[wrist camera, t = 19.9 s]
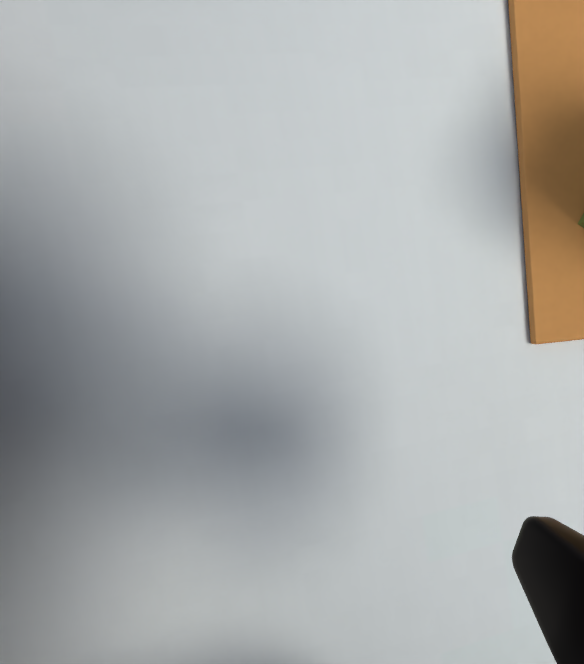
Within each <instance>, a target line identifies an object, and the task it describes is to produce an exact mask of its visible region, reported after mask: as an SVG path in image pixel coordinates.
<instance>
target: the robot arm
mask: <svg viewBox="0 0 584 664" xmlns="http://www.w3.org/2000/svg"><path fill="white" fill-rule="evenodd" d="M512 562H513V566H514V569H515V572H516V574H517V576H518V578H519V581H520V583H521V585H522V587H523V590H524V592H525V594H526V596H527V599H528V601H529V603H530V605H531V608H532V610H533V612H534V614H535V617H536V619H537V621H538V623H539V626H540V628H541V630H542V632H543V635H544V637H545V639H546V641H547V644H548V646H549V648H550V650H551V652H552V654H553V656H554V658H555V660H556V662H557V664H584V535H582V534H580V533H578V532H577V531H575V530H573V529H571V528H569V527H568V526H566V525H564V524H562V523H560V522H559V521H557V520H555V519H553V518H550V517H534V516H532V517H528V518H527V519H526V520H525V521H524V522H523V525H522V527H521V530H520V533H519V536H518V539H517V541H516V544H515V547H514V550H513V553H512Z"/></svg>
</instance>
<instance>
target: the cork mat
mask: <svg viewBox="0 0 584 664" xmlns="http://www.w3.org/2000/svg"><path fill="white" fill-rule="evenodd" d="M508 5H509V20H510V35H511V50H512V66H513V81H514V96H515V111H516V126H517V142H518V157H519V172H520V187H521V203H522V218H523V233H524V248H525V263H526V279H527V294H528V309H529V324H530V339H531V343H532V344H543V343H552V342H561V341H571V340H580V339H584V228H583V227H581V226H580V225H578V222H579V220H580V218H581V217H582V215H583V213H584V0H508Z"/></svg>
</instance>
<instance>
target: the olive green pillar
mask: <svg viewBox="0 0 584 664" xmlns="http://www.w3.org/2000/svg"><path fill="white" fill-rule="evenodd" d="M578 225H580V226H581V227H583V228H584V213H583V215H582V217H581V218H580V220H579V222H578Z"/></svg>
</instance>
